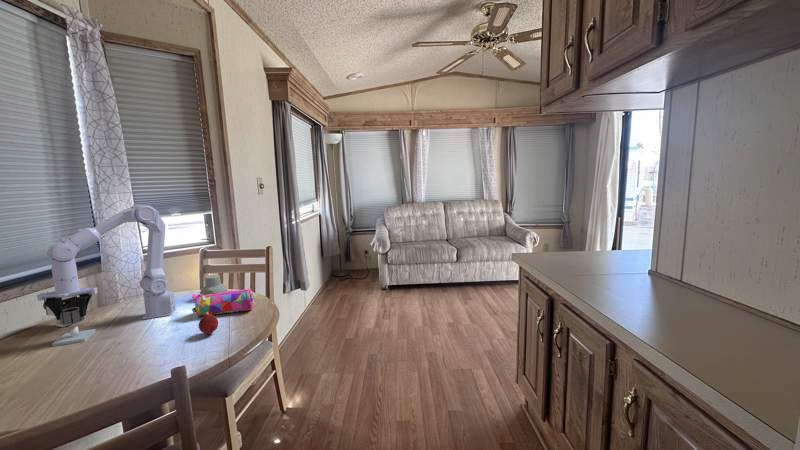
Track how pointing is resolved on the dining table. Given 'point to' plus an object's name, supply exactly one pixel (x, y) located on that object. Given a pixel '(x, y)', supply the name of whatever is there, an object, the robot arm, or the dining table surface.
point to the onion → (208, 323)
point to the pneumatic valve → (63, 307)
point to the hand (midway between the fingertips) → (72, 317)
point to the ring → (70, 316)
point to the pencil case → (223, 302)
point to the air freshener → (213, 285)
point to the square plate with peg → (74, 336)
